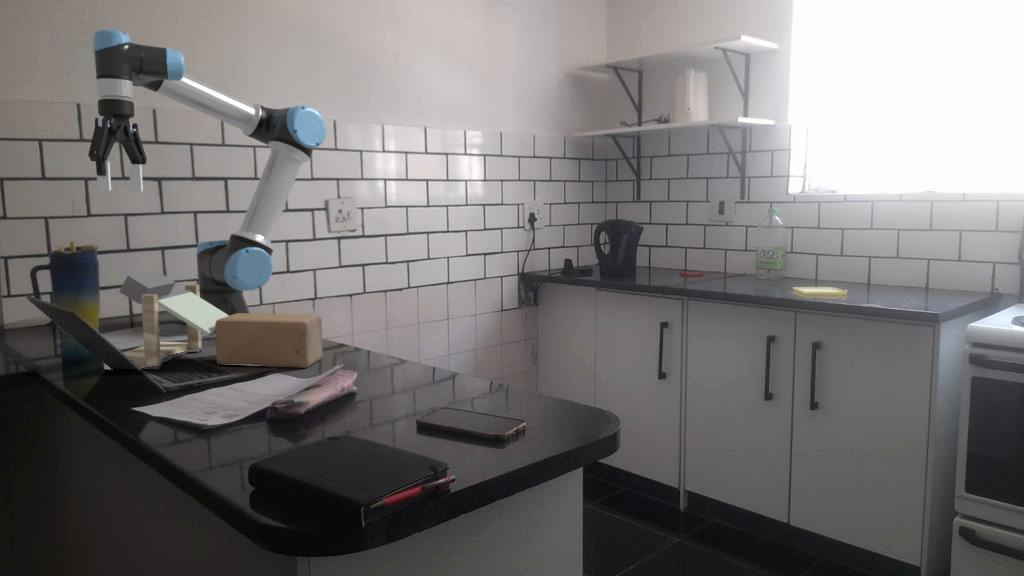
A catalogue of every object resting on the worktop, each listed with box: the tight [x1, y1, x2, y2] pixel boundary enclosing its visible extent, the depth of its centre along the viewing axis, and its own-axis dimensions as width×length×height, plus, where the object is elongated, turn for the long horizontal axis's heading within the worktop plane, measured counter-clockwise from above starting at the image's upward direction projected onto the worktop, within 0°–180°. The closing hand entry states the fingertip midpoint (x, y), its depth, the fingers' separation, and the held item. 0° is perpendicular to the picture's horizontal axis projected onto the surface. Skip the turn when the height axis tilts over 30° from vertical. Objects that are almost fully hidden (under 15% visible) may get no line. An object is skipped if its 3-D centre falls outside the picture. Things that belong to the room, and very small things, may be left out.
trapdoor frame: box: [103, 283, 203, 370], centre depth 158 cm, size 19×11×16 cm, turn 176°
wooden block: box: [215, 312, 323, 369], centre depth 157 cm, size 10×10×20 cm
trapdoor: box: [118, 270, 229, 337], centre depth 157 cm, size 14×21×4 cm
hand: (121, 191), depth 174 cm, fingers open, 13 cm apart
